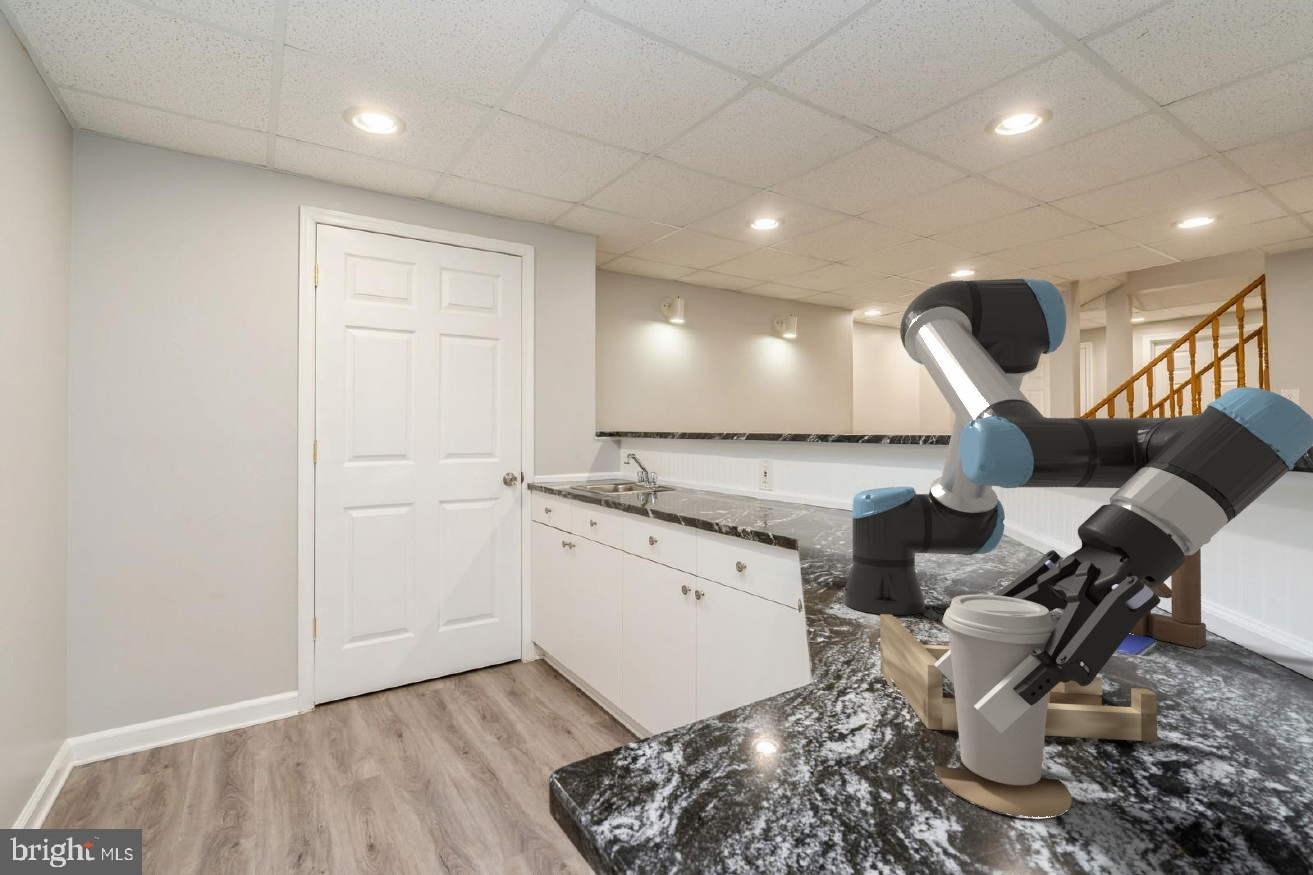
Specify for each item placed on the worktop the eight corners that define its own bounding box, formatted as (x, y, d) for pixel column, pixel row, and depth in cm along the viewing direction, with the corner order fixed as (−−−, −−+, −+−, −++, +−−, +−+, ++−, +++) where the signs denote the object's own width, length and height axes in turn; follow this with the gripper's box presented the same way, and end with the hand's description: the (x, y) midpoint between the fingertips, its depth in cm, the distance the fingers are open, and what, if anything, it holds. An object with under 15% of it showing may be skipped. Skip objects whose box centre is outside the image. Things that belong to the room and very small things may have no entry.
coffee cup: (940, 777, 55) (939, 610, 55) (945, 733, 63) (944, 588, 63) (1068, 807, 50) (1066, 625, 50) (1055, 755, 59) (1054, 599, 59)
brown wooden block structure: (1126, 628, 106) (1126, 525, 106) (1206, 646, 97) (1205, 532, 97) (1117, 632, 104) (1116, 526, 104) (1197, 650, 95) (1196, 534, 95)
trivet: (909, 770, 59) (909, 766, 59) (980, 744, 64) (980, 740, 64) (1024, 834, 49) (1024, 829, 49) (1097, 797, 54) (1097, 793, 54)
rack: (927, 740, 65) (927, 665, 65) (880, 671, 85) (880, 614, 85) (1157, 753, 62) (1156, 675, 62) (1052, 679, 82) (1052, 620, 82)
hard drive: (1133, 654, 89) (1156, 638, 97) (1069, 640, 96) (1095, 626, 103) (1133, 665, 89) (1156, 648, 97) (1069, 650, 96) (1095, 636, 103)
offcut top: (1064, 693, 69) (1064, 675, 69) (1035, 672, 76) (1035, 656, 76) (1102, 695, 69) (1102, 677, 69) (1070, 674, 75) (1070, 658, 75)
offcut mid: (1049, 708, 70) (1049, 691, 70) (1034, 684, 77) (1034, 668, 77) (1101, 715, 68) (1101, 697, 68) (1081, 690, 76) (1081, 673, 76)
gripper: (1289, 587, 44) (1058, 792, 46) (1102, 540, 66) (950, 680, 68) (1209, 513, 45) (984, 717, 46) (1050, 491, 67) (901, 630, 68)
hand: (964, 695), depth 57 cm, fingers closed on coffee cup, 9 cm apart
